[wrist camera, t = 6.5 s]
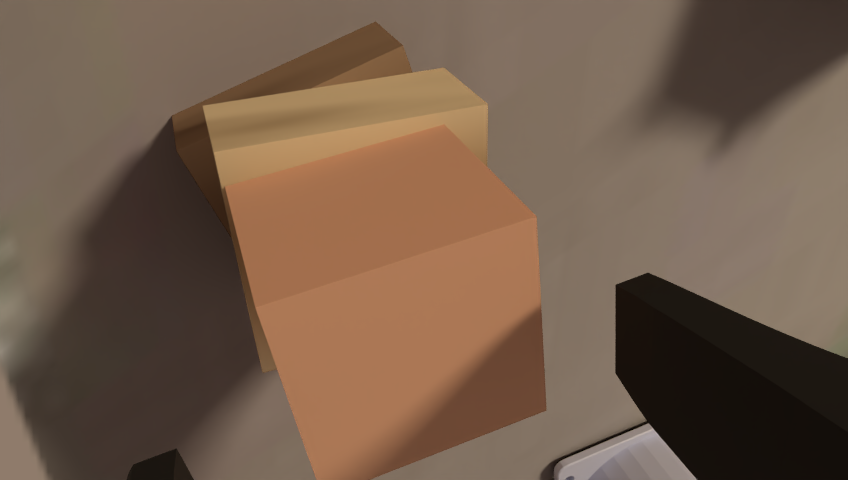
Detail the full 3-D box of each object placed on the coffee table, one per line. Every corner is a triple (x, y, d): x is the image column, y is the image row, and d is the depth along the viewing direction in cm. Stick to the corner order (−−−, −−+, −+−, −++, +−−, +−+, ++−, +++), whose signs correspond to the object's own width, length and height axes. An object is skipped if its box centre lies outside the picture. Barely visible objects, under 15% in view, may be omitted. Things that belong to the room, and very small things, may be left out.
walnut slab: (436, 189, 21) (468, 229, 19) (269, 271, 20) (284, 322, 18) (371, 18, 18) (402, 45, 16) (171, 111, 17) (176, 151, 15)
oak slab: (448, 261, 19) (485, 314, 17) (247, 309, 18) (262, 372, 16) (443, 68, 16) (487, 104, 14) (202, 106, 15) (213, 152, 13)
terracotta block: (466, 294, 17) (546, 410, 13) (283, 357, 16) (322, 497, 12) (444, 124, 14) (536, 216, 11) (224, 186, 13) (255, 307, 10)
